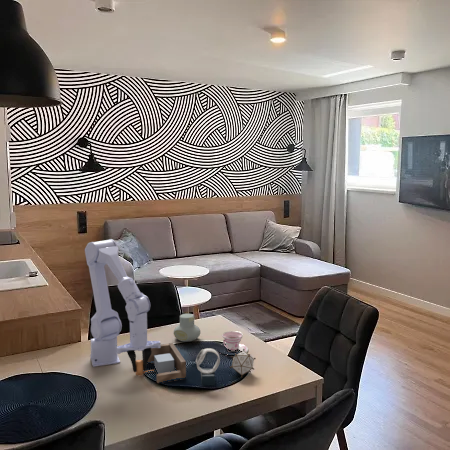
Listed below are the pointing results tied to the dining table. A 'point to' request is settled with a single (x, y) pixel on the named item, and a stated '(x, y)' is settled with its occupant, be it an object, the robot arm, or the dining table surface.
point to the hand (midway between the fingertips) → (139, 370)
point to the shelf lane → (178, 362)
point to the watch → (207, 374)
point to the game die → (242, 362)
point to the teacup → (234, 341)
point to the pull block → (157, 364)
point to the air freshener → (187, 329)
